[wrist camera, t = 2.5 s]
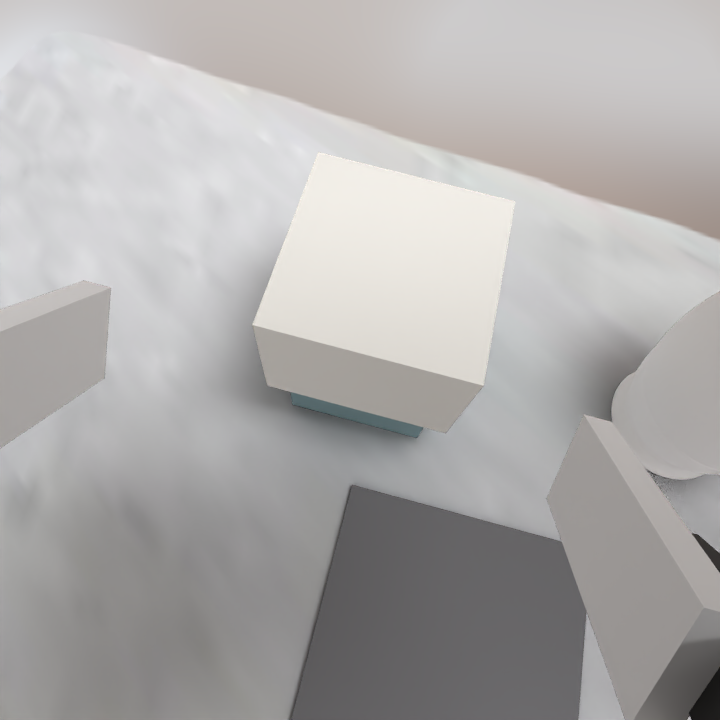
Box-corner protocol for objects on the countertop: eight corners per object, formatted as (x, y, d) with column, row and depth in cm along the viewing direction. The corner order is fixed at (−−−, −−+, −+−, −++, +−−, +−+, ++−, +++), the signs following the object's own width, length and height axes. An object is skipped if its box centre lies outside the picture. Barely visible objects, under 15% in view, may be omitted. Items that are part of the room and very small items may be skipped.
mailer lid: (475, 280, 36) (515, 201, 29) (445, 433, 32) (483, 385, 25) (318, 240, 37) (318, 152, 29) (267, 385, 32) (252, 325, 25)
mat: (587, 550, 35) (590, 549, 35) (564, 856, 29) (567, 859, 28) (351, 485, 36) (352, 484, 35) (277, 771, 29) (277, 774, 29)
